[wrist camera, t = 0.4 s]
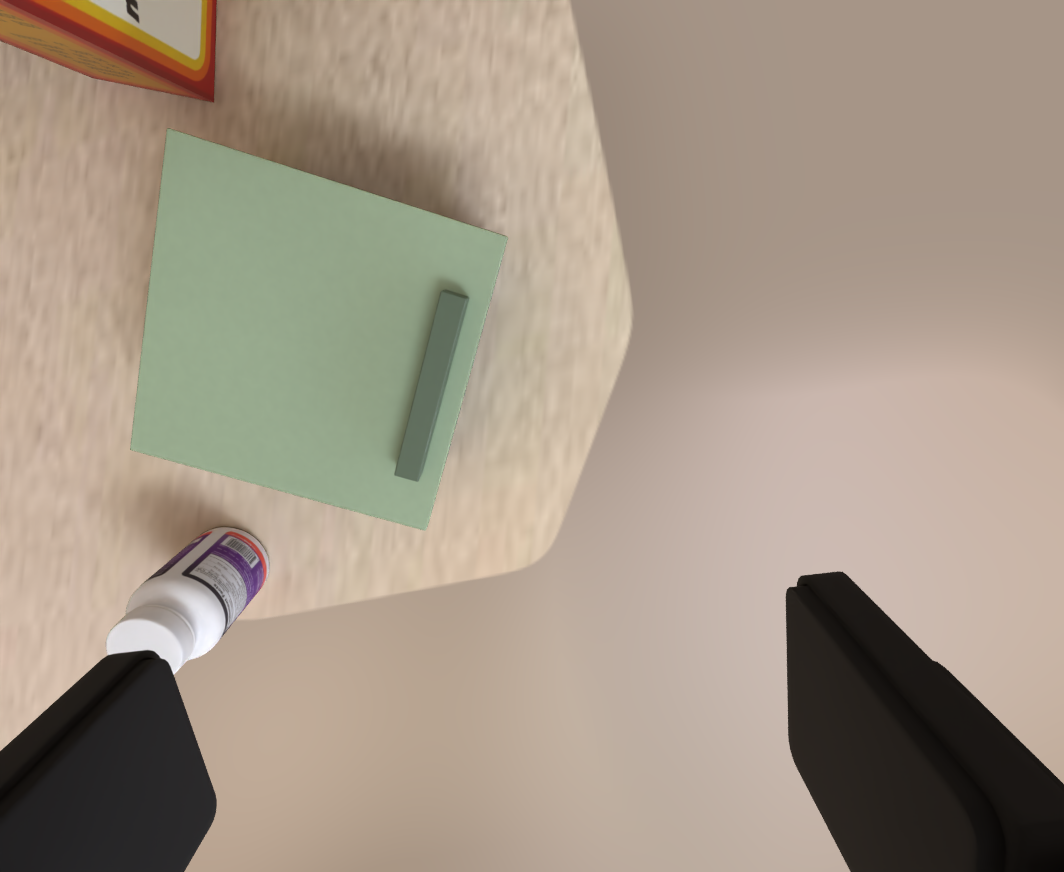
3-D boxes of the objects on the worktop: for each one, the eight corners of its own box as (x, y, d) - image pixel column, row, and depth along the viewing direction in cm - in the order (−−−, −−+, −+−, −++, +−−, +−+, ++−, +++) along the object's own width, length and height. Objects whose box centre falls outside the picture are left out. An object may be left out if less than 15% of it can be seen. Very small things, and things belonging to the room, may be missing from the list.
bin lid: (179, 132, 26) (149, 121, 24) (508, 237, 27) (506, 235, 25) (142, 444, 30) (113, 457, 28) (428, 523, 31) (421, 542, 29)
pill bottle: (200, 596, 41) (103, 695, 32) (185, 525, 40) (79, 608, 31) (277, 594, 41) (203, 693, 32) (265, 523, 40) (184, 605, 30)
